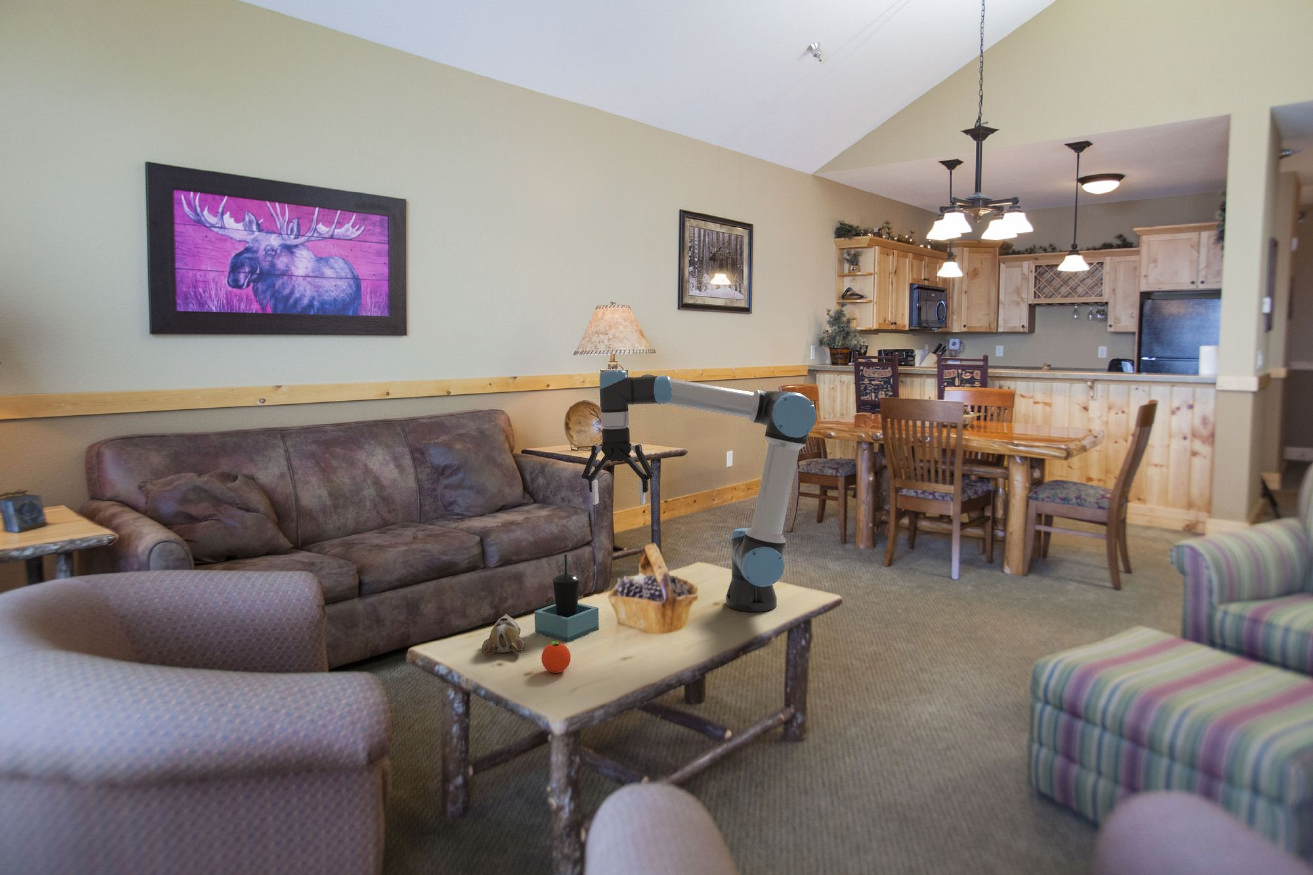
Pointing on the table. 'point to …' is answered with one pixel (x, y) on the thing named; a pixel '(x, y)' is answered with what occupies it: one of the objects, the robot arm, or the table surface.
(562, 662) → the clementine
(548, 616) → the teal bin
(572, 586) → the drinking cup
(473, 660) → the table surface
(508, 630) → the ceramic sculpture
